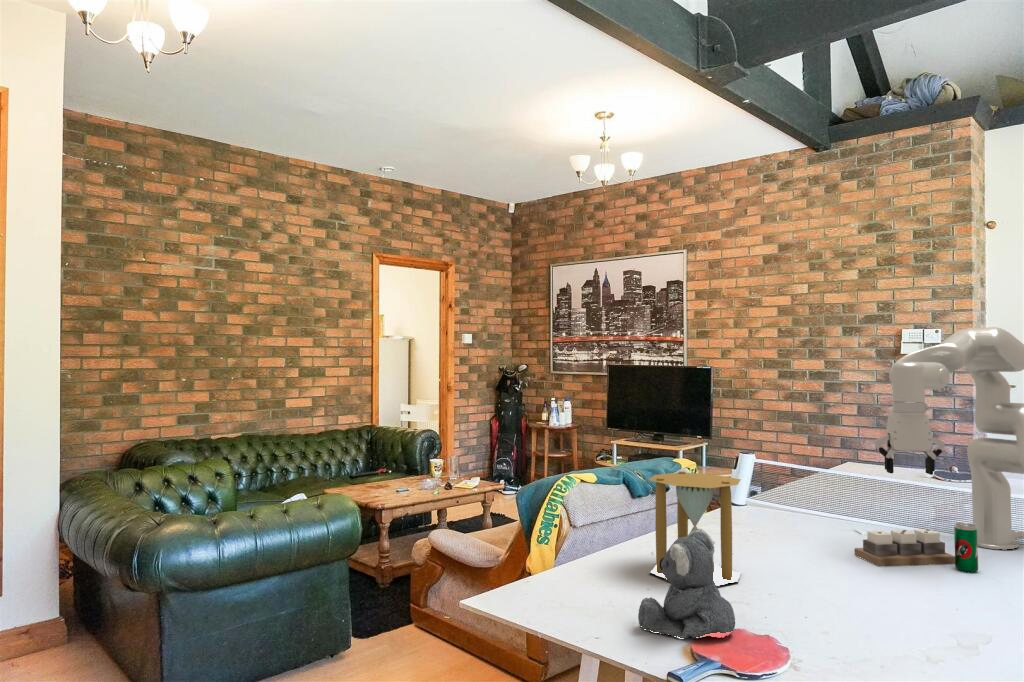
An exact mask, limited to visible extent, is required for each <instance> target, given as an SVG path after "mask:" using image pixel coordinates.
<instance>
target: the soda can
mask: <svg viewBox="0 0 1024 682" xmlns="http://www.w3.org/2000/svg"><path fill="white" fill-rule="evenodd" d="M953 527H954V529H953V532H954V556H955V564H954V567H955V568H956V570H957V571H958V572H962V571H963V572H962V573H968V572H969V573H970V574H973V573H977V572H978V571H979V549H978V547H979V546H978V541H977V529H976V527H975V525H974V524H973V523H969V522H956V523H955V526H953ZM969 573H968V574H969Z"/></svg>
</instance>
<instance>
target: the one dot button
mask: <svg viewBox="0 0 1024 682" xmlns="http://www.w3.org/2000/svg"><path fill="white" fill-rule="evenodd" d="M866 531H867V533H866V536H867V541H869V542H872V543H874V544H876V545H883V544H892V534H891V533H889V532H887V531H884V530H866Z"/></svg>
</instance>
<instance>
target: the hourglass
mask: <svg viewBox="0 0 1024 682" xmlns="http://www.w3.org/2000/svg"><path fill="white" fill-rule="evenodd" d="M647 480H648V481H651V482H654V483H656V484H655V558H656V559H655V561H656V563H655V564H657V572H658V573H663V572H662V570H661V569H660V560H661V559H662V558H663V557H665V555H666V553H667V551H668V550H667V547H668V546H667V543H668V542H667V538H668V532H667V531H668V528H667V526H668V525H667V522H668V521H667V494H666V493H667V490H666V485H670V486H675V494H676V497H677V500H676V502H677V505H676V506H677V508H676V509H677V510H676V511H677V513H676V515H677V523H676V525H677V539H679V538H681V537H682V538H683V537H689V535H690V534H691V531H692V532H694V530H697V531H698V529H699V528H698V527H697V525H698V523H699V521H700V520H701V518H702V517H703V515H704V513H705V512H706V510H707V509H708V506H710V504H711V502H712V499H713V494H714V489H715V488H720V558H721V559H720V560H721V563H720V565H721V568H722V577H723V579H727V580H731V577H732V569H733V516H732V514H733V510H732V489H731V487H732V486H733V487H734V486H738V485H739V484H740V481H741V479H740V478H735V477H730V476H725V475H719V474H711V473H699V472H698V473H697V472H686V471H683V470H680V471H678V472H671V473H669V472H668V473H662V474H661V473H660V474H654V475H653V476H651V477H650V478H649V479H647ZM689 521H690V522H691V523H692V526H693V527H692V528H691V530H690V532H689ZM712 559H713V570H714V563H715V561H714V556H713V557H712Z"/></svg>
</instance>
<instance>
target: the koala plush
mask: <svg viewBox="0 0 1024 682" xmlns="http://www.w3.org/2000/svg"><path fill="white" fill-rule="evenodd" d="M697 529H698V531H697V530H694V532H692V531H691V530H690V532H691V534H690V535H689V534H688V535H689V537H683V538H682V537H681V538H679V539H678V538H677V539H675V541H673V543H672V544H671V545H670V547H669V548H668V550H667V553H666V555H665V557H663V558H662V559H661V560H660V569H661V570H662V572H663V574H664V575H665V577H666V578H667V580H668V581H667V580H666V581H667V582H669V584H670V585H669V587H668V590H667V592H666V595H665V597H664V601H663V606H662V605H661V604H660V603H659V602H658V600H657V599H655V598H653V597H652V596H651V597H644V598H643V599H641V602H640V606H639V609H638V615H637V617H638V618H637V619H638V624H639V626H640V627H641V626H642V627H641V628H642V629H643V628H644V629H646V630H649V631H650V630H651V631H653V632H659V633H661V634H669V635H672V636H671V637H673V636H676V637H677V636H678V637H680V638H687V639H688V638H689V636H690V637H691V638H693V639H695V638H696V637H700V636H703V635H705V634H710V633H717V632H720V633H726V632H731V631H733V632H734V630H735V628H736V617H735V612H734V608H733V606H732V604H731V603H730V602H729V600H727V599H726V598H725V597H723V596H722V595H721V592H720V590H719V589H718V587H716V585H715V583H714V581H713V572H714V570H713V561H714V554H715V543H716V541H714V540H713V539H712V538H711V537H712V536H711V535H709V534H708V533H709V532H707V531H706V530H704V529H702V528H697ZM712 557H713V559H712ZM644 629H643V630H644ZM646 630H645V631H646ZM649 631H648V632H649ZM731 633H732V632H731Z"/></svg>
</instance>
